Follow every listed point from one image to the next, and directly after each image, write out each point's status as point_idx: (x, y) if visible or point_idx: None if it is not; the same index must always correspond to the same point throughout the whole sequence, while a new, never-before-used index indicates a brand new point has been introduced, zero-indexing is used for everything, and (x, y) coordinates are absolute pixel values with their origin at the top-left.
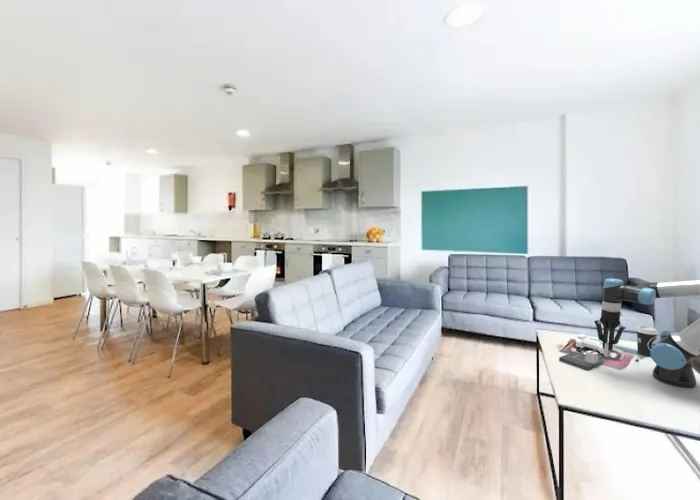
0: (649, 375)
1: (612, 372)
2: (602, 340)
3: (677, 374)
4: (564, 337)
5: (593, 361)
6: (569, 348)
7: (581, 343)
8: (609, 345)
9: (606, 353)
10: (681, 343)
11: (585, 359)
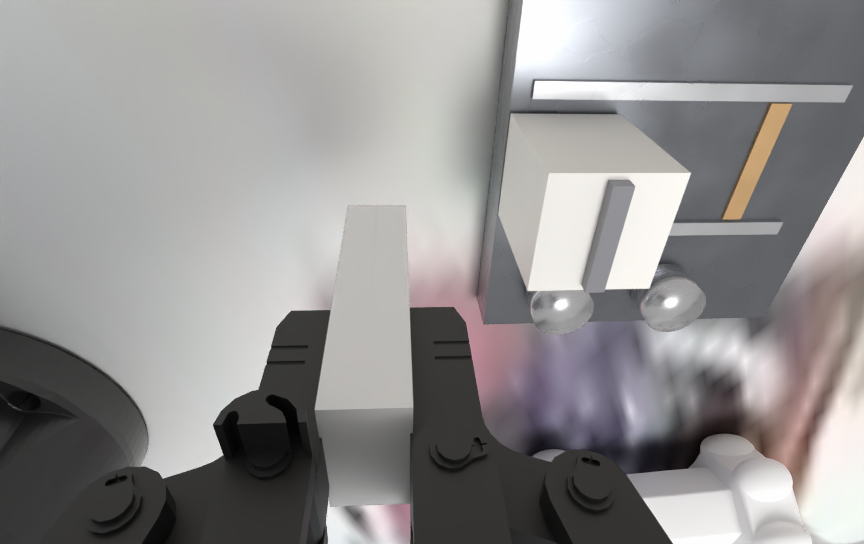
0: (129, 369)
1: (315, 161)
2: (509, 479)
3: None
4: (834, 507)
5: (526, 127)
6: (794, 376)
7: (736, 471)
8: (305, 405)
9: (360, 239)
10: None
11: (631, 123)
